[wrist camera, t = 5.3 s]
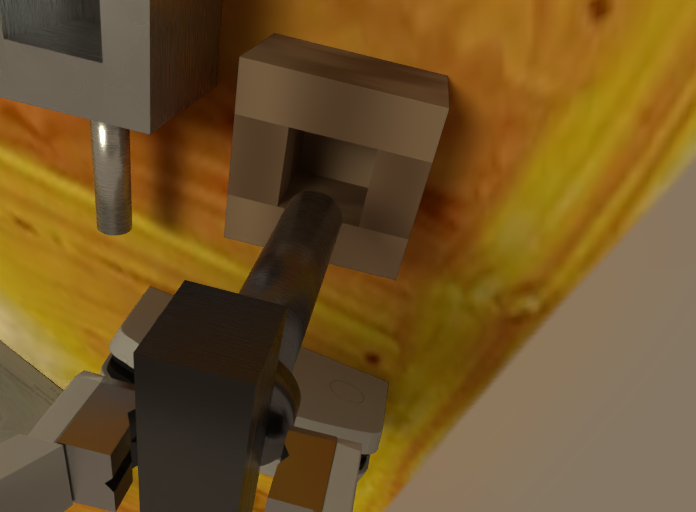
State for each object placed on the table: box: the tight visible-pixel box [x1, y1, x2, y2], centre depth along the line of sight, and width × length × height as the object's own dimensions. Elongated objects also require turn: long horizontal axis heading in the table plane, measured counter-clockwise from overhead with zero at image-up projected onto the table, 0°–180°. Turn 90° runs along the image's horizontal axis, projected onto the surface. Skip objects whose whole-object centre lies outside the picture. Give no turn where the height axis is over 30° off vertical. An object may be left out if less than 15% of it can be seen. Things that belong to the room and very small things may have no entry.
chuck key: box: [133, 191, 342, 512], centre depth 14 cm, size 3×7×11 cm, turn 168°
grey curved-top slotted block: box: [101, 286, 389, 482], centre depth 31 cm, size 17×5×10 cm, turn 68°
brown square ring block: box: [224, 33, 449, 280], centre depth 24 cm, size 8×8×5 cm
